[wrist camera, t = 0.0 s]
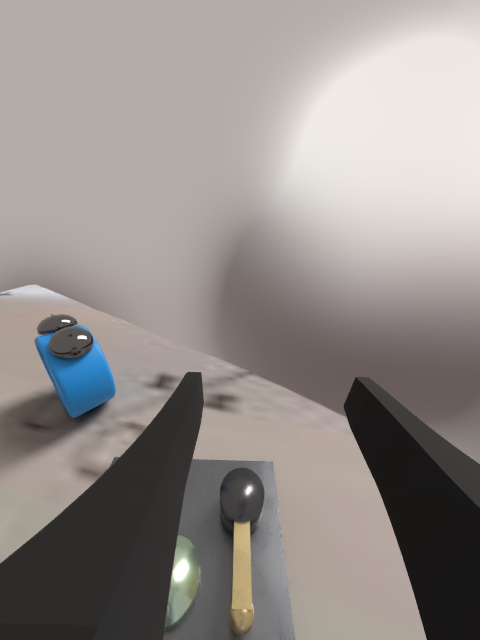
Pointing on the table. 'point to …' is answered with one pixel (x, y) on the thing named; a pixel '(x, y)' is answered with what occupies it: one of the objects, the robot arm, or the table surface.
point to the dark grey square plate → (225, 562)
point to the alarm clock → (74, 364)
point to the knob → (241, 538)
